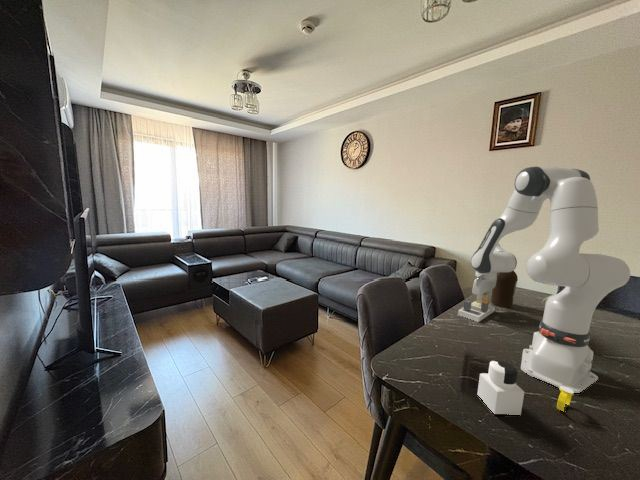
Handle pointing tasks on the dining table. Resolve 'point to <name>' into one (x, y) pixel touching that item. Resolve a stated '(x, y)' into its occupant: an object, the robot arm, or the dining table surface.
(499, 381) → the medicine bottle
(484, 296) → the tan block with knob
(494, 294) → the olive oil
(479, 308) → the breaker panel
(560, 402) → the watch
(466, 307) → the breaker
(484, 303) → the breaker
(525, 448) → the dining table surface
